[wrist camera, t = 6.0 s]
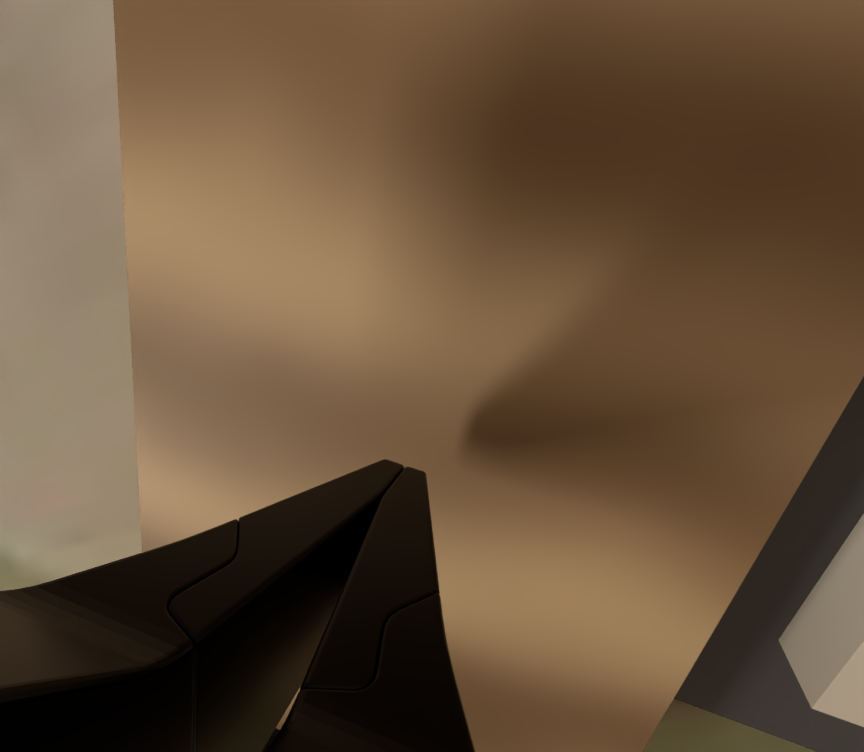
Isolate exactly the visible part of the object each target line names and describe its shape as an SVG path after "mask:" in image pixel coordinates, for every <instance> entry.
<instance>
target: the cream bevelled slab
mask: <svg viewBox="0 0 864 752" xmlns="http://www.w3.org/2000/svg"><path fill="white" fill-rule="evenodd" d="M779 643H780V645H781V647H782V649H783V651H784V653H785V655H786V657H787V659H788V661H789V663H790V665H791V667H792V669H793V671H794V673H795V675H796V677H797V680H798V682H799V684H800V686H801V688H802V690H803V692H804V694H805V696H806V698H807V700H808V702H809V704H810V706H811V708H812V709H814V710H817V711H820V712H823V713H826V714H828V715H831V716H834V717H837V718H839V719H842V720H845V721H848V722H851V723H853V724H856V725H859V726H862V727H864V514H863V515H862V517H861V518H860V520H859V521H858V523H857V524H856V526H855V527H854V529H853V530H852V532H851V533H850V535H849V536H848V537H847V539H846V540H845V542H844V543H843V545H842V546H841V548H840V549H839V551H838V552H837V554H836V555H835V557H834V558H833V560H832V561H831V563H830V564H829V566H828V567H827V569H826V570H825V572H824V573H823V575H822V576H821V578H820V579H819V580H818V582H817V583H816V585H815V586H814V588H813V589H812V591H811V592H810V594H809V595H808V597H807V598H806V600H805V601H804V603H803V604H802V606H801V607H800V609H799V610H798V612H797V613H796V615H795V616H794V618H793V619H792V621H791V622H790V623H789V625H788V626H787V628H786V629H785V631H784V632H783V634H782V635H781V637H780V638H779Z"/></svg>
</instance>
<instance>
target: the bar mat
mask: <svg viewBox="0 0 864 752" xmlns="http://www.w3.org/2000/svg"><path fill="white" fill-rule="evenodd" d="M863 514H864V377H863V378H862V380H861V382H860V383H859V385H858V387H857V388H856V390H855V392H854V394H853V395H852V397H851V399H850V400H849V402H848V404H847V405H846V407H845V409H844V410H843V412H842V414H841V416H840V417H839V419H838V421H837V422H836V424H835V426H834V427H833V429H832V431H831V433H830V434H829V436H828V438H827V439H826V441H825V443H824V444H823V446H822V448H821V450H820V451H819V453H818V455H817V456H816V458H815V460H814V461H813V463H812V465H811V466H810V468H809V470H808V472H807V473H806V475H805V477H804V478H803V480H802V482H801V483H800V485H799V487H798V489H797V490H796V492H795V494H794V495H793V497H792V499H791V500H790V502H789V504H788V506H787V507H786V509H785V511H784V512H783V514H782V516H781V517H780V519H779V521H778V522H777V524H776V526H775V528H774V529H773V531H772V533H771V534H770V536H769V538H768V539H767V541H766V543H765V545H764V546H763V548H762V550H761V551H760V553H759V555H758V556H757V558H756V560H755V561H754V563H753V565H752V567H751V568H750V570H749V572H748V573H747V575H746V577H745V578H744V580H743V582H742V584H741V585H740V587H739V589H738V590H737V592H736V594H735V595H734V597H733V599H732V601H731V602H730V604H729V606H728V607H727V609H726V611H725V612H724V614H723V616H722V617H721V619H720V621H719V623H718V624H717V626H716V628H715V629H714V631H713V633H712V634H711V636H710V638H709V640H708V641H707V643H706V645H705V646H704V648H703V650H702V651H701V653H700V655H699V656H698V658H697V660H696V662H695V663H694V665H693V667H692V668H691V670H690V672H689V673H688V675H687V677H686V679H685V680H684V682H683V684H682V685H681V687H680V689H679V690H678V692H677V694H676V696H675V697H674V699H677V700H680V701H682V702H685V703H688V704H690V705H693V706H696V707H699V708H701V709H704V710H707V711H709V712H712V713H715V714H717V715H720V716H723V717H726V718H728V719H731V720H734V721H736V722H739V723H742V724H744V725H747V726H750V727H753V728H755V729H758V730H761V731H763V732H766V733H769V734H771V735H774V736H777V737H780V738H782V739H785V740H788V741H790V742H793V743H796V744H798V745H801V746H804V747H807V748H809V749H812V750H815V751H817V752H864V727H862V726H859V725H856V724H853V723H851V722H848V721H845V720H842V719H839V718H837V717H834V716H831V715H828V714H826V713H823V712H820V711H817V710H814V709H812V708H811V706H810V704H809V702H808V700H807V698H806V696H805V694H804V692H803V690H802V688H801V686H800V684H799V682H798V680H797V677H796V675H795V673H794V671H793V669H792V667H791V665H790V663H789V661H788V659H787V657H786V655H785V653H784V651H783V649H782V647H781V645H780V643H779V638H780V637H781V635H782V634H783V632H784V631H785V629H786V628H787V626H788V625H789V623H790V622H791V621H792V619H793V618H794V616H795V615H796V613H797V612H798V610H799V609H800V607H801V606H802V604H803V603H804V601H805V600H806V598H807V597H808V595H809V594H810V592H811V591H812V589H813V588H814V586H815V585H816V583H817V582H818V580H819V579H820V578H821V576H822V575H823V573H824V572H825V570H826V569H827V567H828V566H829V564H830V563H831V561H832V560H833V558H834V557H835V555H836V554H837V552H838V551H839V549H840V548H841V546H842V545H843V543H844V542H845V540H846V539H847V537H848V536H849V535H850V533H851V532H852V530H853V529H854V527H855V526H856V524H857V523H858V521H859V520H860V518H861V517H862V515H863Z"/></svg>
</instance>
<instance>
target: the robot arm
mask: <svg viewBox="0 0 864 752" xmlns="http://www.w3.org/2000/svg"><path fill="white" fill-rule="evenodd" d="M300 686H301V687H300ZM299 688H300V692H299V693H298V695H297V697H296V699H295V701H294V704H293V706H292V708H291V710H290V712H289V714H288V716H287V718H286V720H285V722H284V724H283V726H282V728H281V730H279V729H277V728H276V726H277V725H278V723H279V721H280V720H281V718H282V716H283V715H284V713H285V711H286V710H287V708H288V706H289V705H290V703H291V701H292V700H293V698H294V696H295V695H296V693H297V691H298V690H299ZM0 752H475V748H474V745H473V741H472V737H471V733H470V730H469V726H468V722H467V719H466V715H465V711H464V708H463V704H462V700H461V697H460V693H459V689H458V686H457V682H456V678H455V674H454V670H453V666H452V662H451V657H450V653H449V649H448V644H447V639H446V633H445V626H444V620H443V613H442V605H441V597H440V590H439V581H438V572H437V563H436V555H435V546H434V537H433V529H432V520H431V511H430V503H429V494H428V485H427V476H426V473H425V472H424V471H421V470H418V469H415V468H412V467H408V466H407V467H405V468H404V466H403V465H402V464H400V463H397V462H394V461H391V460H388V459H383V460H380V461H378V462H375V463H373V464H370V465H368V466H366V467H363V468H361V469H358V470H356V471H353V472H351V473H348V474H346V475H343V476H341V477H338V478H336V479H333V480H331V481H328V482H326V483H323V484H321V485H319V486H316V487H314V488H311V489H309V490H306V491H304V492H301V493H299V494H296V495H294V496H291V497H289V498H286V499H284V500H281V501H279V502H276V503H274V504H272V505H269V506H267V507H264V508H262V509H259V510H257V511H254V512H252V513H249V514H247V515H244V516H242V517H240V518H239V520H237V519H234V520H232V521H229V522H227V523H224V524H222V525H219V526H217V527H214V528H211V529H209V530H206V531H204V532H201V533H198V534H196V535H193V536H190V537H188V538H185V539H182V540H179V541H176V542H173V543H170V544H167V545H164V546H161V547H158V548H155V549H152V550H149V551H146V552H143V553H140V554H136V555H133V556H130V557H127V558H124V559H120V560H117V561H114V562H111V563H108V564H104V565H101V566H98V567H95V568H92V569H88V570H85V571H82V572H79V573H76V574H72V575H69V576H66V577H63V578H60V579H56V580H53V581H50V582H46V583H42V584H39V585H35V586H31V587H26V588H21V589H15V590H6V591H0Z"/></svg>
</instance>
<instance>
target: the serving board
mask: <svg viewBox="0 0 864 752" xmlns="http://www.w3.org/2000/svg"><path fill="white" fill-rule="evenodd" d="M113 4H114V23H115V42H116V62H117V81H118V100H119V119H120V138H121V157H122V176H123V195H124V214H125V233H126V252H127V272H128V291H129V310H130V329H131V348H132V367H133V386H134V405H135V424H136V443H137V462H138V482H139V501H140V520H141V539H142V553H143V552H146V551H149V550H152V549H155V548H158V547H161V546H164V545H167V544H170V543H173V542H176V541H179V540H182V539H185V538H188V537H190V536H193V535H196V534H198V533H201V532H204V531H206V530H209V529H211V528H214V527H217V526H219V525H222V524H224V523H227V522H229V521H232V520H234V519H237V520H239V518H240V517H242V516H244V515H247V514H249V513H252V512H254V511H257V510H259V509H262V508H264V507H267V506H269V505H272V504H274V503H276V502H279V501H281V500H284V499H286V498H289V497H291V496H294V495H296V494H299V493H301V492H304V491H306V490H309V489H311V488H314V487H316V486H319V485H321V484H323V483H326V482H328V481H331V480H333V479H336V478H338V477H341V476H343V475H346V474H348V473H351V472H353V471H356V470H358V469H361V468H363V467H366V466H368V465H370V464H373V463H375V462H378V461H380V460H383V459H388V460H391V461H394V462H397V463H400V464H402V465H403V466H404V468H405V467H407V466H408V467H412V468H415V469H418V470H421V471H424V472H425V473H426V476H427V485H428V494H429V503H430V511H431V520H432V529H433V537H434V546H435V555H436V563H437V572H438V581H439V590H440V597H441V605H442V613H443V620H444V626H445V633H446V639H447V644H448V649H449V653H450V657H451V662H452V666H453V670H454V674H455V678H456V682H457V686H458V689H459V693H460V697H461V700H462V704H463V708H464V711H465V715H466V719H467V722H468V726H469V730H470V733H471V737H472V741H473V745H474V748H475V752H643V750H644V748H645V746H646V745H647V743H648V741H649V740H650V738H651V736H652V735H653V733H654V731H655V729H656V728H657V726H658V724H659V723H660V721H661V719H662V718H663V716H664V714H665V712H666V711H667V709H668V707H669V706H670V704H671V702H672V701H673V699H674V697H675V696H676V694H677V692H678V690H679V689H680V687H681V685H682V684H683V682H684V680H685V679H686V677H687V675H688V673H689V672H690V670H691V668H692V667H693V665H694V663H695V662H696V660H697V658H698V656H699V655H700V653H701V651H702V650H703V648H704V646H705V645H706V643H707V641H708V640H709V638H710V636H711V634H712V633H713V631H714V629H715V628H716V626H717V624H718V623H719V621H720V619H721V617H722V616H723V614H724V612H725V611H726V609H727V607H728V606H729V604H730V602H731V601H732V599H733V597H734V595H735V594H736V592H737V590H738V589H739V587H740V585H741V584H742V582H743V580H744V578H745V577H746V575H747V573H748V572H749V570H750V568H751V567H752V565H753V563H754V561H755V560H756V558H757V556H758V555H759V553H760V551H761V550H762V548H763V546H764V545H765V543H766V541H767V539H768V538H769V536H770V534H771V533H772V531H773V529H774V528H775V526H776V524H777V522H778V521H779V519H780V517H781V516H782V514H783V512H784V511H785V509H786V507H787V506H788V504H789V502H790V500H791V499H792V497H793V495H794V494H795V492H796V490H797V489H798V487H799V485H800V483H801V482H802V480H803V478H804V477H805V475H806V473H807V472H808V470H809V468H810V466H811V465H812V463H813V461H814V460H815V458H816V456H817V455H818V453H819V451H820V450H821V448H822V446H823V444H824V443H825V441H826V439H827V438H828V436H829V434H830V433H831V431H832V429H833V427H834V426H835V424H836V422H837V421H838V419H839V417H840V416H841V414H842V412H843V410H844V409H845V407H846V405H847V404H848V402H849V400H850V399H851V397H852V395H853V394H854V392H855V390H856V388H857V387H858V385H859V383H860V382H861V380H862V378H863V377H864V0H113ZM300 687H301V686H300ZM299 692H300V688H299V690H298V691H297V693H296V695H295V696H294V698H293V700H292V701H291V703H290V705H289V706H288V708H287V710H286V711H285V713H284V715H283V716H282V718H281V720H280V721H279V723H278V725H277V726H276V728H277V729H279V730H281V728H282V726H283V724H284V722H285V720H286V718H287V716H288V714H289V712H290V710H291V708H292V706H293V704H294V701H295V699H296V697H297V695H298V693H299Z"/></svg>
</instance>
